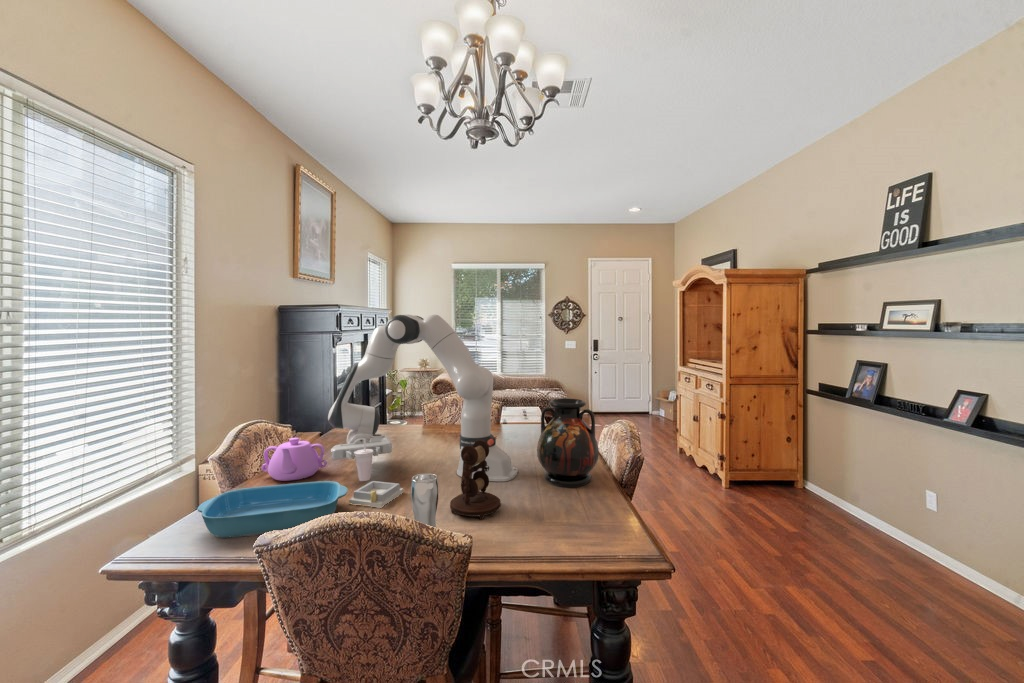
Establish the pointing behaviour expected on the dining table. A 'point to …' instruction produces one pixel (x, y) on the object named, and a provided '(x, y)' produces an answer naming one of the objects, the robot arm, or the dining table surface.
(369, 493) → the collar plate
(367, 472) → the smoothie
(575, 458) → the amphora vase
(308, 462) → the teapot
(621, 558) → the dining table surface
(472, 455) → the brown spool stand
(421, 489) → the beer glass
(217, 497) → the casserole dish
